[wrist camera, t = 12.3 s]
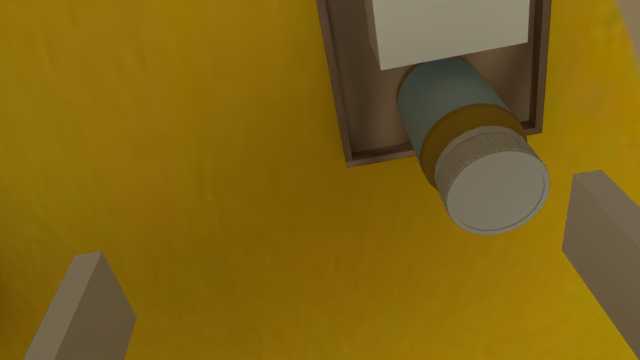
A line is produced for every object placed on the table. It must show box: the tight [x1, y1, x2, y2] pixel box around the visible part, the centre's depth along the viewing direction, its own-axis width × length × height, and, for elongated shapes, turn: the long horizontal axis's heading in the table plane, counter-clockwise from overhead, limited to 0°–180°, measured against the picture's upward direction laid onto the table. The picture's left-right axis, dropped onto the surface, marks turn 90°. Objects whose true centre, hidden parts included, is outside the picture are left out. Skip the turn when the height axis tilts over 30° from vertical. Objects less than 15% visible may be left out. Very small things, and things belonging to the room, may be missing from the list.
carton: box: [364, 0, 530, 70], centre depth 35 cm, size 10×5×6 cm, turn 101°
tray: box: [316, 0, 552, 168], centre depth 40 cm, size 17×16×2 cm
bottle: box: [397, 56, 550, 235], centre depth 36 cm, size 7×7×15 cm
